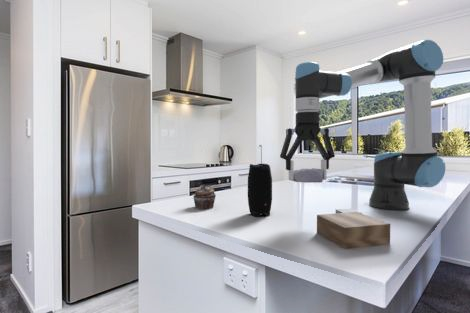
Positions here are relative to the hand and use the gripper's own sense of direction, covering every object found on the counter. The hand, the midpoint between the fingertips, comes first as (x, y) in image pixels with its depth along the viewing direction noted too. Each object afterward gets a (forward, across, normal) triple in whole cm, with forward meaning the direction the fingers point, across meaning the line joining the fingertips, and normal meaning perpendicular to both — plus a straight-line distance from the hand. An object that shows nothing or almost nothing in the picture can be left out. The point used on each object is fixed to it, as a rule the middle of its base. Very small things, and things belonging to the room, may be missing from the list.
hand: (307, 179), depth 95 cm
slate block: (+16, +14, -1) cm, 21 cm away
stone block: (+1, 0, +2) cm, 2 cm away
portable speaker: (+16, -12, +18) cm, 27 cm away
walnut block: (+16, +8, -14) cm, 22 cm away
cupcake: (+16, -33, +34) cm, 50 cm away
